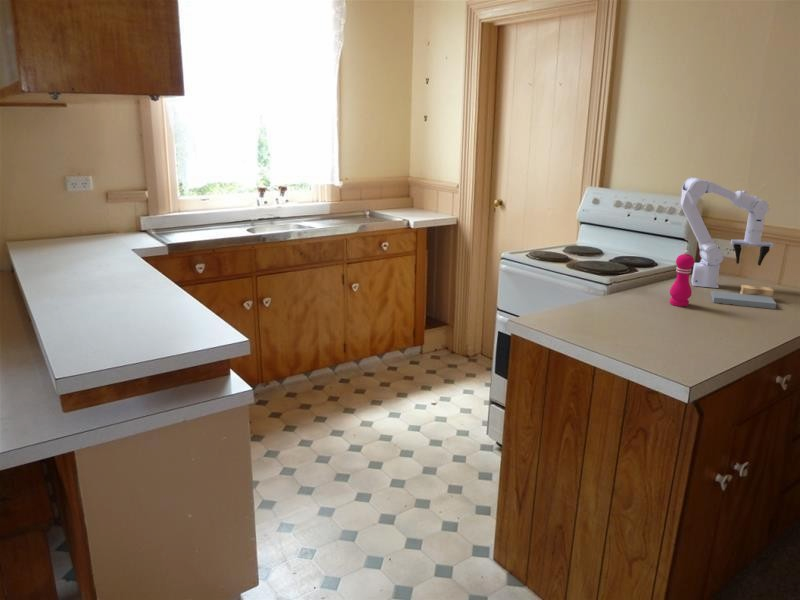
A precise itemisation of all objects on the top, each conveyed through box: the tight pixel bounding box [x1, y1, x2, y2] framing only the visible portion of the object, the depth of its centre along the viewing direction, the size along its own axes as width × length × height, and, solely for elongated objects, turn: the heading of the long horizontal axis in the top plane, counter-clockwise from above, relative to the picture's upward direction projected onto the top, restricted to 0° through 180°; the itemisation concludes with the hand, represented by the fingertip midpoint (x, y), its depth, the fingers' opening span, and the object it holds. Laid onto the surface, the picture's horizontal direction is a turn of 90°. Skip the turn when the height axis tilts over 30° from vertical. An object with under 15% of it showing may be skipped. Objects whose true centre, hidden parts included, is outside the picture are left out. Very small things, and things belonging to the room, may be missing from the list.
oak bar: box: [739, 284, 775, 299], centre depth 236 cm, size 10×5×4 cm, turn 70°
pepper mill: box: [669, 249, 695, 307], centre depth 225 cm, size 7×7×20 cm
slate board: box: [710, 290, 777, 310], centre depth 231 cm, size 20×10×2 cm, turn 70°
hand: (748, 264), depth 250 cm, fingers open, 7 cm apart
